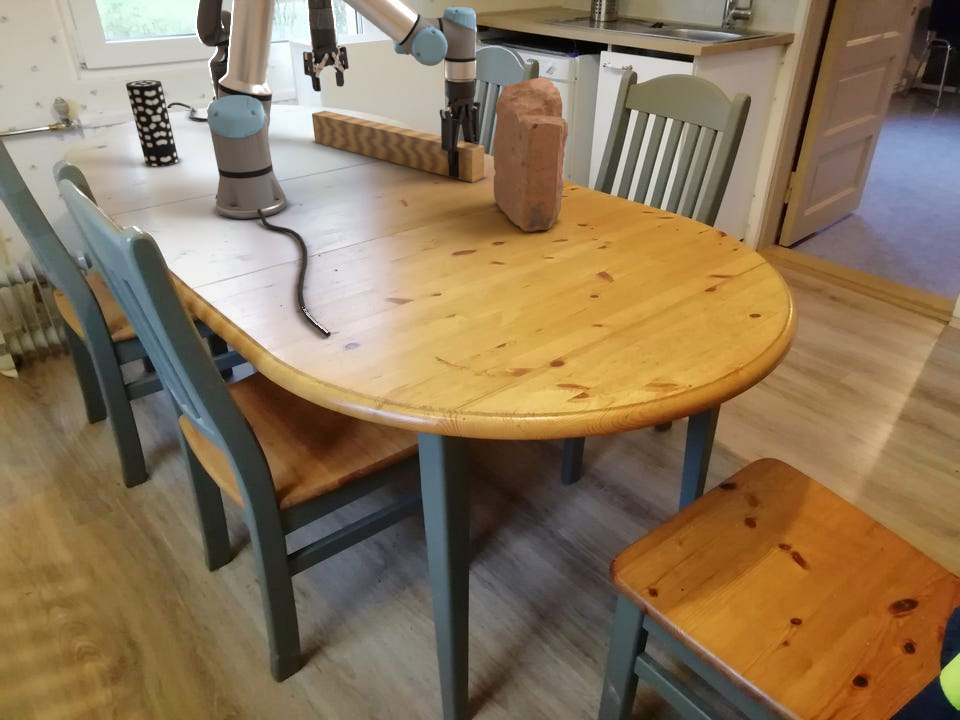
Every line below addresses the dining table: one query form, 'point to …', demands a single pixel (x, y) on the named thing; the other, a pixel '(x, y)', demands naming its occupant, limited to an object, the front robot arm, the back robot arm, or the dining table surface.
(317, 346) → the dining table surface
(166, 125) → the black white spotted cylinder
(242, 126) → the front robot arm
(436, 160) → the beam
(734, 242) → the dining table surface
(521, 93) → the stone
